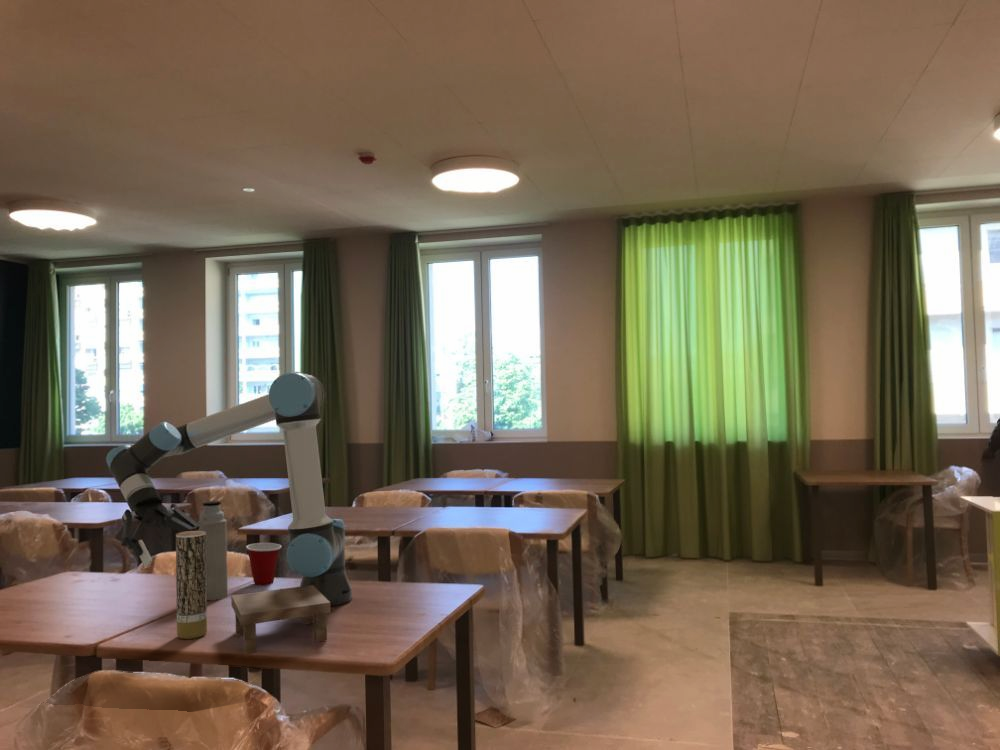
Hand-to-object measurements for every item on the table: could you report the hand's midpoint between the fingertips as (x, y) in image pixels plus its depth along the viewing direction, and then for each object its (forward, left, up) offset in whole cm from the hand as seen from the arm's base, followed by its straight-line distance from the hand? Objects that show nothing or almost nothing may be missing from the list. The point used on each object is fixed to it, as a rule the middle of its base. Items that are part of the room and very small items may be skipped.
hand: (175, 559), depth 188 cm
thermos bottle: (-11, -33, -18) cm, 40 cm away
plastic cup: (-27, -44, -18) cm, 55 cm away
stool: (-22, +16, -18) cm, 33 cm away
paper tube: (-3, +4, -18) cm, 19 cm away
